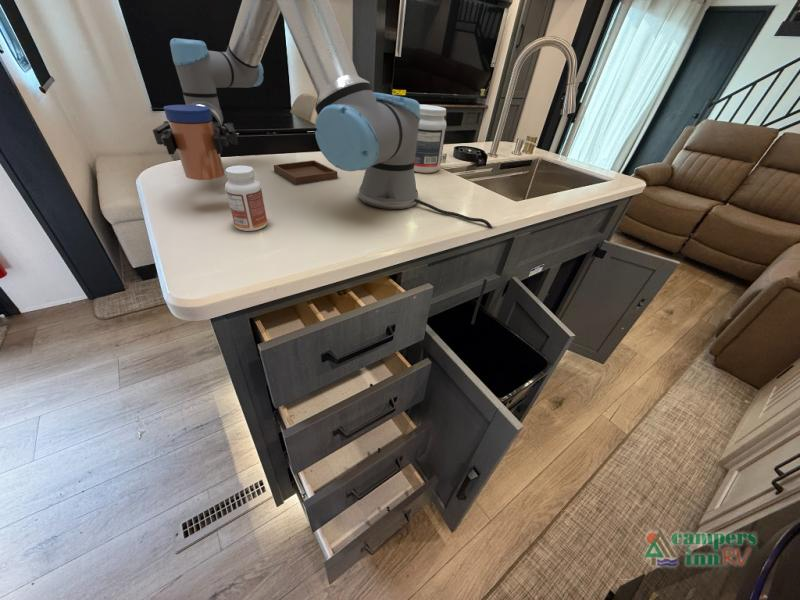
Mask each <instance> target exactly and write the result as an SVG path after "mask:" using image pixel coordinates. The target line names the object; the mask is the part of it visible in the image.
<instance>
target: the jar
mask: <svg viewBox="0 0 800 600" xmlns="http://www.w3.org/2000/svg"><path fill="white" fill-rule="evenodd" d="M167 121H168V122H169V124H170V128H171V131H172V134H173V137H174V140H175V144H176V147H177V149H176V151H177V153H178V156H179V159H180V163H181V166H182V169H183V173H184V175H185V177H186V178H188V179H190V180H193V181H195V180H196V181H210V180H216V179H220V178H222V177H224V176H225V175H226V172H225V169H224V165H223V160H222V157H221V154H217V150H216V146H215V142H214V135H215V131H214V127H213V123H212V120H211V121H208V122H201V123H182V122H173V121H169V120H167Z"/></svg>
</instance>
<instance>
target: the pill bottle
mask: <svg viewBox="0 0 800 600" xmlns="http://www.w3.org/2000/svg"><path fill="white" fill-rule="evenodd" d="M225 175H226V177H227V179H228V180H227V181H226V183H225V184H224V185H225V186H224V187H225V188H224V189H225V192H226V196H227V200H228V204H229V208H230V212H231V216H232V220H233V224H234V226H235V228H236V229H238V230H239V231H240V230H241V231H244V232H245V231H246V232H252V231H258V230H262V229H263V228H265V227H266V226H267V225H268V218H267V212H266V207H265V202H264V197H263V191H262V186H261V184H260V181H258V180H257V179H255V175H256V174H255V171H254V168H253V167H251V166H249V165H232V166H229V167H226V169H225Z"/></svg>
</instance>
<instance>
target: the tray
mask: <svg viewBox="0 0 800 600" xmlns="http://www.w3.org/2000/svg"><path fill="white" fill-rule="evenodd" d="M273 170H274V172H275V173H276V174H278V175H279V176H281V177H282V178H283V179H286V180H287V181H289V182H291V183H293V184H294V185H296V186H298V185H304V184H311V183H317V182H321V181H328V180H329V181H330V180H335V179H338V176H339V175H338V170H335V169H333V168H332V167H329V166H327V165H324V164H323V163H321V162H319V161H316V160H315V159H314V160H313V159H311V160H304V161H303V160H302V161H295V162H286V163H277V164H273Z"/></svg>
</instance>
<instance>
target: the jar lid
mask: <svg viewBox="0 0 800 600" xmlns="http://www.w3.org/2000/svg"><path fill="white" fill-rule="evenodd" d="M163 110H164V114H165V118H166V121H168V120H169V121H173V122H182V123H201V122H208V121H211V120H212V115H211V111H210V108H209V107H205V106H199V105H186V104H169V105H165V106H163ZM169 121H168V122H169Z"/></svg>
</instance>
